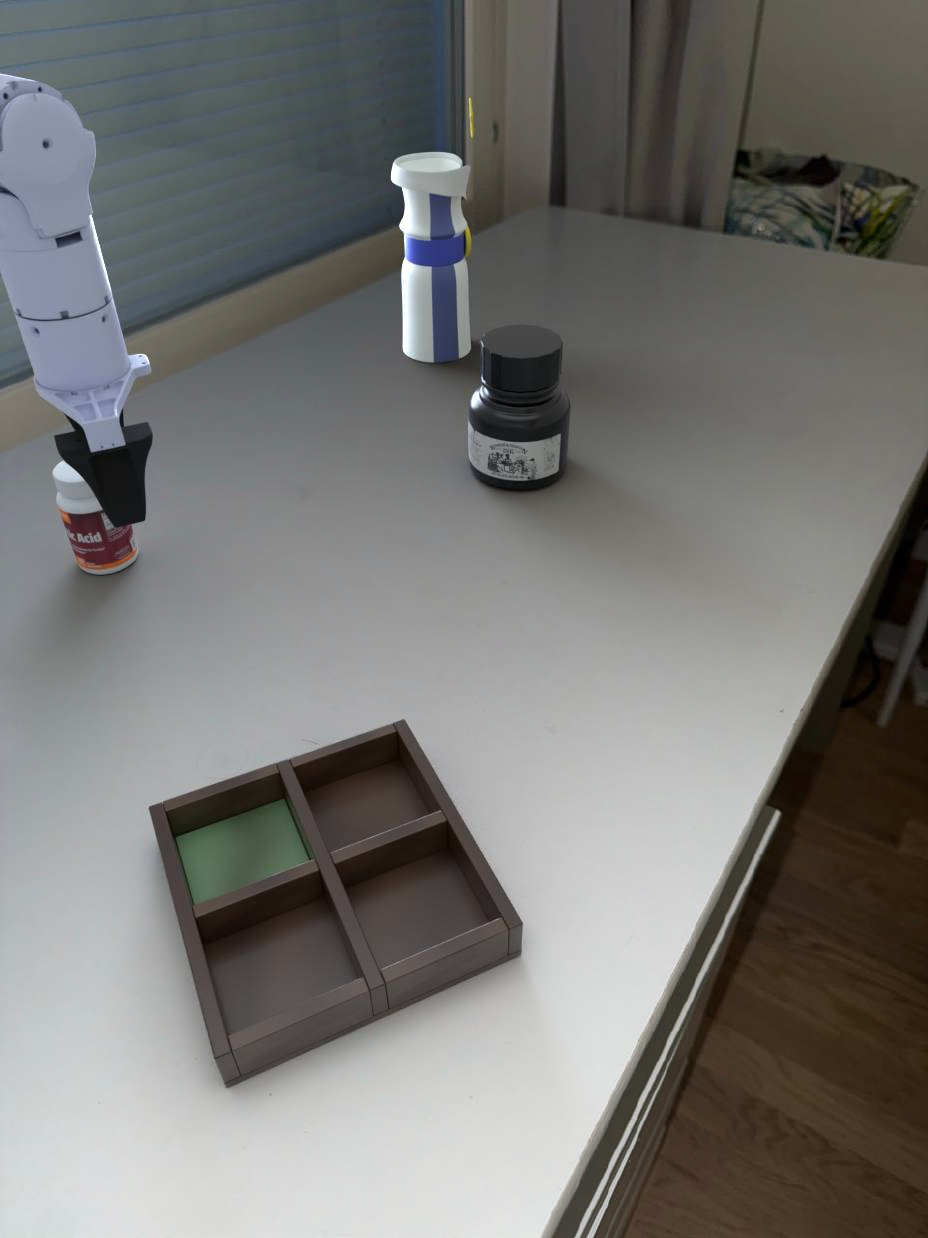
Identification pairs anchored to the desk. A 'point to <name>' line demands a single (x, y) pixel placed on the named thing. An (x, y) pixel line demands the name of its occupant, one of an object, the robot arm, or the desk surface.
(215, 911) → the tray
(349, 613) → the desk surface
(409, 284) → the water bottle
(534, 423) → the ink bottle
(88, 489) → the pill bottle
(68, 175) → the robot arm
